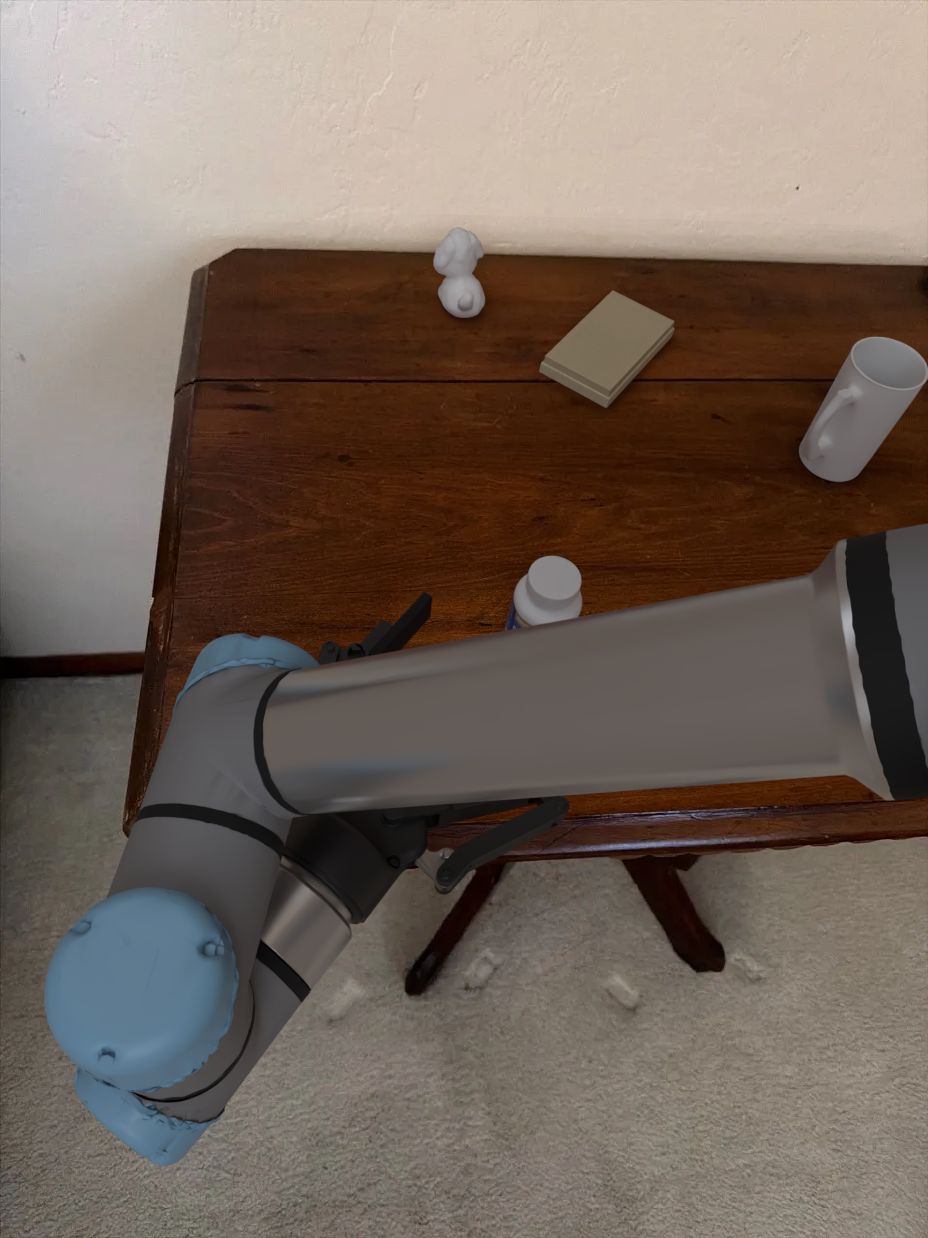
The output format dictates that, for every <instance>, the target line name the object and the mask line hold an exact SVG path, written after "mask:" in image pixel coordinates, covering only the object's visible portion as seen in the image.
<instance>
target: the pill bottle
mask: <svg viewBox="0 0 928 1238" xmlns="http://www.w3.org/2000/svg"><path fill="white" fill-rule="evenodd" d="M581 586H582V575H581V572H580V570H579V569H578V567H577V566H576V565H575V564H574V563H573V562H572V561H570V560H568V559H567V558H564V557H562V556H558V555H546V556H542V557H540V558H537V559H536V560H535V561H534V562H533V563H532V564H531V565H530V567H529V569H528V572H527V573H526V574H525V575H523V577H521V578H520V580H519V581H518V582H517V584H516V586H515V588H514V590H513V596H512V599H511V602H510V607H509V611H508V615H507V619H506V623H505V627H504V631H507V630H512V629H517V628H523V627H528V626H534V625H539V624H544V623H550V622H555V621H560V620H566V619H571V618H577V617H580V615H581V612H582V607H583V597H582V592H581Z"/></svg>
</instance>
